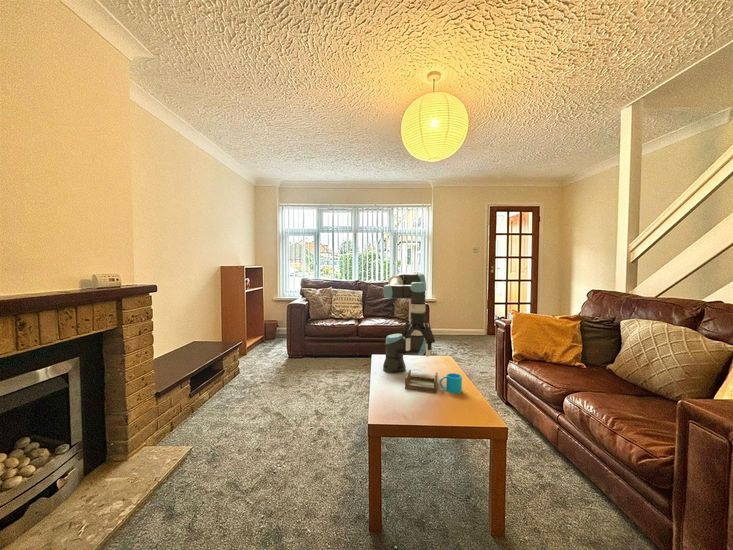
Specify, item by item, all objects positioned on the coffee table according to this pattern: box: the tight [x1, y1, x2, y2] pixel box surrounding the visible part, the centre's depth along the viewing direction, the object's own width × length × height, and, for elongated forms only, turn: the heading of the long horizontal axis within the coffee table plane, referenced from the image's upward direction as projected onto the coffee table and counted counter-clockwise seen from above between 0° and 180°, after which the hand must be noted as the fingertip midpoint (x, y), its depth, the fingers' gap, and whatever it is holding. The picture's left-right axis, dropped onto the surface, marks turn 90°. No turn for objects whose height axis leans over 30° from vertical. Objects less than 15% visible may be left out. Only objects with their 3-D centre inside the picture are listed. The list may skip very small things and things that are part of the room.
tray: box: [404, 369, 438, 393], centre depth 171 cm, size 15×17×6 cm
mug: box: [438, 372, 463, 394], centre depth 165 cm, size 12×8×8 cm
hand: (417, 353), depth 153 cm, fingers open, 13 cm apart
